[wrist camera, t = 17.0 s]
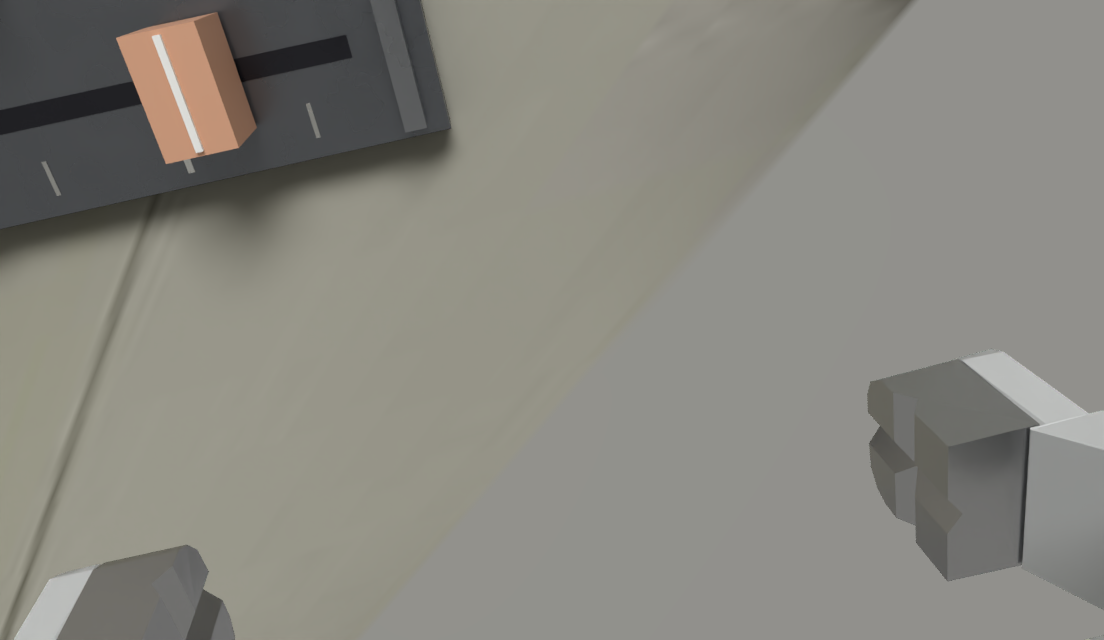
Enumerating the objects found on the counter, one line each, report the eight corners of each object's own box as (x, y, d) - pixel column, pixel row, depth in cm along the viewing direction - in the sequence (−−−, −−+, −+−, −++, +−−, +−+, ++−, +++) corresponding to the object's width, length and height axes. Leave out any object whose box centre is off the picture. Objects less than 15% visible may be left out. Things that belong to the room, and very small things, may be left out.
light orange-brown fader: (217, 12, 36) (192, 21, 33) (256, 127, 39) (237, 148, 35) (147, 27, 36) (113, 38, 33) (190, 142, 38) (164, 165, 35)
